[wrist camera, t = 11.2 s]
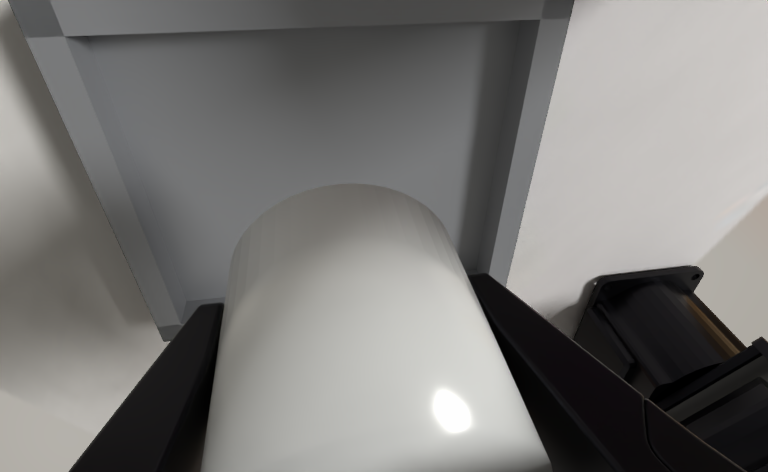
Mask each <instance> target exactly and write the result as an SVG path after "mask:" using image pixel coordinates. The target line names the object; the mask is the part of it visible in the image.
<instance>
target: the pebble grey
mask: <svg viewBox="0 0 768 472" xmlns="http://www.w3.org/2000/svg"><path fill="white" fill-rule="evenodd" d="M200 472H553V470H552V465H551V462H550V460H549V457H548V455H547V453H546V451H545V448H544V446H543V444H542V442H541V439H540V437H539V435H538V433H537V430H536V428H535V426H534V424H533V422H532V419H531V417H530V415H529V413H528V410H527V408H526V406H525V404H524V401H523V399H522V397H521V395H520V392H519V390H518V388H517V386H516V384H515V381H514V379H513V377H512V375H511V372H510V370H509V368H508V366H507V363H506V361H505V359H504V357H503V355H502V352H501V350H500V348H499V346H498V343H497V341H496V339H495V337H494V334H493V332H492V330H491V328H490V325H489V323H488V321H487V319H486V317H485V314H484V312H483V310H482V308H481V305H480V303H479V301H478V299H477V296H476V294H475V292H474V290H473V288H472V285H471V283H470V281H469V279H468V276H467V274H466V272H465V270H464V267H463V265H462V263H461V261H460V258H459V256H458V254H457V252H456V250H455V247H454V245H453V243H452V241H451V238H450V236H449V234H448V232H447V230H446V228H445V226H444V225H443V223H442V222H441V221H440V220H439V218H438V217H437V216H436V215H435V214H434V213H433V212H432V211H431V210H430V209H429V208H428V207H427V206H425V205H424V204H422V203H421V202H419V201H418V200H416V199H414V198H412V197H410V196H408V195H406V194H404V193H402V192H399V191H396V190H393V189H390V188H386V187H381V186H376V185H369V184H357V183H356V184H336V185H329V186H322V187H318V188H314V189H310V190H306V191H304V192H301V193H299V194H296V195H293V196H291V197H289V198H287V199H285V200H283V201H281V202H279V203H277V204H275V205H274V206H273V207H271V208H270V209H268V210H267V211H265V212H264V213H263V214H261V215H260V216H259V217H258V218H257V219H256V220H255V221H254V222H253V223H252V224H251V225H250V226H249V227H248V229H247V230H246V231H245V232H244V233H243V235H242V237H241V238H240V240H239V242H238V243H237V245H236V247H235V250H234V253H233V255H232V258H231V264H230V269H229V276H228V283H227V290H226V297H225V304H224V311H223V318H222V325H221V332H220V339H219V346H218V353H217V360H216V367H215V373H214V380H213V387H212V394H211V401H210V408H209V415H208V422H207V429H206V436H205V443H204V450H203V457H202V464H201V471H200Z"/></svg>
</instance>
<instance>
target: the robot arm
mask: <svg viewBox="0 0 768 472" xmlns="http://www.w3.org/2000/svg"><path fill="white" fill-rule="evenodd" d="M703 275H704V273H703V271H702V270H701V269H700V268H699V267H697V266H692V267H683V268H674V269H666V270H657V271H649V272H640V273H631V274H623V275H614V276H607V277H603V278H602V279H600V280H599V281H598V282H597V284H596V286H595V289H594V291H593V294H592V296H591V299H590V301H589V304H588V306H587V308H586V311H585V313H584V316H583V318H582V321H581V323H580V325H579V328H578V330H577V333H576V335H575V338H574V340H572V339H571V338H569V337H568V336H567V335H566V334H564V333H563V332H562V331H561V330H559V329H558V328H557V327H555V326H554V325H553V324H552V323H550V322H549V321H548V320H547V319H545V318H544V317H543V316H541V315H540V314H539V313H538V312H536V311H535V310H534V309H532V308H531V307H530V306H529V305H527V304H526V303H525V302H524V301H522V300H521V299H520V298H518V297H517V296H516V295H515V294H513V293H512V292H511V291H510V290H508V289H507V288H506V287H504V286H503V285H502V284H501V283H499V282H498V281H497V280H496V279H494V278H493V277H492V276H490V275H489V274H487V273H475V274H468V275H467V276H468V279H469V281H470V283H471V285H472V288H473V290H474V292H475V294H476V296H477V299H478V301H479V303H480V305H481V308H482V310H483V312H484V314H485V317H486V319H487V321H488V323H489V325H490V328H491V330H492V332H493V334H494V337H495V339H496V341H497V343H498V346H499V348H500V350H501V352H502V355H503V357H504V359H505V361H506V363H507V366H508V368H509V370H510V372H511V375H512V377H513V379H514V381H515V384H516V386H517V388H518V390H519V392H520V395H521V397H522V399H523V401H524V404H525V406H526V408H527V410H528V413H529V415H530V417H531V419H532V422H533V424H534V426H535V428H536V430H537V433H538V435H539V437H540V439H541V442H542V444H543V446H544V448H545V451H546V453H547V455H548V457H549V460H550V462H551V465H552V470H553V472H768V342H767V341H766V340H765V339H764V338H763V337H760V338H759V339H757V340H755V341H753V342H752V345H751V346H749V347H748V348H747V347H746V346H744V344H743V343H742V342H741V341H740V340H739V339H738V338H737V337H736V336H735V335H734V334H733V333H732V332H731V331H730V330H729V329H728V328H727V327H726V326H725V325H724V324H723V323H722V322H721V321H720V320H719V319H718V317H716V315H714V313H713V312H712V311H711V310H710V309H709V308H708V307H707V306H706V305H705V304H704V303H703V302H702V301H701V300H700V299H699V298H698V297H697V296H696V295H695V294H694V293H693V292H694V290H695V289H696V287H697V285H698V284H699V282H700V280H701V279H702V277H703ZM223 311H224V303H222V302H216V303H207V304H202V305H200V306H198V307H197V308H196V310H195V311H194V312H193V314H192V315H191V316H190V317H189V319H188V320H187V321H186V323H185V324H184V325H183V326H182V328H181V329H180V330H179V331H178V333H177V334H176V335H175V337H174V338H173V339H172V340H171V342H170V343H169V344H168V345H167V347H166V348H165V349H164V351H163V352H162V353H161V354H160V356H159V357H158V358H157V359H156V361H155V362H154V363H153V365H152V366H151V367H150V368H149V370H148V371H147V372H146V374H145V375H144V376H143V377H142V379H141V380H140V381H139V382H138V384H137V385H136V386H135V388H134V389H133V390H132V391H131V393H130V394H129V395H128V396H127V398H126V399H125V400H124V402H123V403H122V404H121V405H120V407H119V408H118V409H117V410H116V412H115V413H114V414H113V416H112V417H111V418H110V419H109V421H108V422H107V423H106V425H105V426H104V427H103V428H102V430H101V431H100V432H99V433H98V435H97V436H96V437H95V439H94V440H93V441H92V443H91V444H90V445H89V446H88V448H87V449H86V450H85V451H84V453H83V454H82V455H81V456H80V458H79V459H78V460H77V462H76V463H75V464H74V465H73V467H72V468H71V469H70V471H69V472H200V471H201V464H202V457H203V450H204V443H205V436H206V429H207V422H208V415H209V408H210V401H211V394H212V387H213V380H214V373H215V367H216V360H217V353H218V346H219V339H220V332H221V325H222V318H223Z"/></svg>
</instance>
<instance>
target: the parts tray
mask: <svg viewBox="0 0 768 472" xmlns="http://www.w3.org/2000/svg"><path fill="white" fill-rule="evenodd" d="M8 2H9V4H10V6H11V8H12V10H13V12H14V15H15V17H16V19H17V21H18V23H19V26H20V28H21V30H22V32H23V34H24V37H25V39H26V41H27V43H28V45H29V48H30V50H31V52H32V54H33V56H34V59H35V61H36V63H37V65H38V67H39V69H40V72H41V74H42V76H43V78H44V80H45V83H46V85H47V87H48V89H49V91H50V94H51V96H52V98H53V100H54V102H55V105H56V107H57V109H58V111H59V113H60V115H61V118H62V120H63V122H64V124H65V126H66V129H67V131H68V133H69V135H70V137H71V140H72V142H73V144H74V146H75V148H76V151H77V153H78V155H79V157H80V159H81V162H82V164H83V166H84V168H85V170H86V172H87V175H88V177H89V179H90V181H91V183H92V186H93V188H94V190H95V192H96V194H97V197H98V199H99V201H100V203H101V205H102V208H103V210H104V212H105V214H106V216H107V218H108V221H109V223H110V225H111V227H112V229H113V232H114V234H115V236H116V238H117V240H118V243H119V245H120V247H121V249H122V251H123V254H124V256H125V258H126V260H127V262H128V265H129V267H130V269H131V271H132V273H133V275H134V278H135V280H136V282H137V284H138V286H139V289H140V291H141V293H142V295H143V297H144V300H145V302H146V304H147V306H148V308H149V311H150V313H151V315H152V317H153V319H154V321H155V324H156V326H157V328H158V330H159V332H160V335H161V337H162V339H163V341H164V342H165V341H171V340H172V339H173V338H174V337H175V335H176V334H177V333H178V331H179V330H180V329H181V328H182V326H183V325H184V324H185V323H186V321H187V320H188V319H189V317H190V316H191V315H192V314H193V312H194V311H195V310H196V308H197V307H198V306H200V305H202V304H207V303H216V302H222V303H224V304H225V297H226V290H227V283H228V276H229V269H230V264H231V258H232V255H233V253H234V250H235V247H236V245H237V243H238V242H239V240H240V238H241V237H242V235H243V233H244V232H245V231H246V230H247V229H248V227H249V226H250V225H251V224H252V223H253V222H254V221H255V220H256V219H257V218H258V217H259V216H260V215H261V214H263V213H264V212H265V211H267V210H268V209H270V208H271V207H273V206H274V205H275V204H277V203H279V202H281V201H283V200H285V199H287V198H289V197H291V196H293V195H296V194H299V193H301V192H304V191H306V190H310V189H314V188H318V187H322V186H329V185H336V184H356V183H357V184H369V185H376V186H381V187H386V188H390V189H393V190H396V191H399V192H402V193H404V194H406V195H408V196H410V197H412V198H414V199H416V200H418V201H419V202H421V203H422V204H424V205H425V206H427V207H428V208H429V209H430V210H431V211H432V212H433V213H434V214H435V215H436V216H437V217H438V218H439V220H440V221H441V222H442V223H443V225H444V226H445V228H446V230H447V232H448V234H449V236H450V238H451V241H452V243H453V245H454V247H455V250H456V252H457V254H458V256H459V258H460V261H461V263H462V265H463V267H464V270H465V272H466V274H467V275H468V274H475V273H487V274H489V275H490V276H492V277H493V278H494V279H496V280H497V281H498V282H499V283H501V284H502V285H503V286H504V287H506V283H507V279H508V275H509V271H510V267H511V262H512V258H513V254H514V250H515V246H516V242H517V237H518V233H519V229H520V225H521V221H522V217H523V212H524V208H525V204H526V200H527V196H528V192H529V188H530V183H531V179H532V175H533V171H534V167H535V163H536V158H537V154H538V150H539V146H540V142H541V138H542V133H543V129H544V125H545V121H546V117H547V113H548V108H549V104H550V100H551V96H552V92H553V88H554V83H555V79H556V75H557V71H558V67H559V63H560V58H561V54H562V50H563V46H564V42H565V38H566V33H567V29H568V25H569V21H570V17H571V13H572V8H573V4H574V0H8Z"/></svg>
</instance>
